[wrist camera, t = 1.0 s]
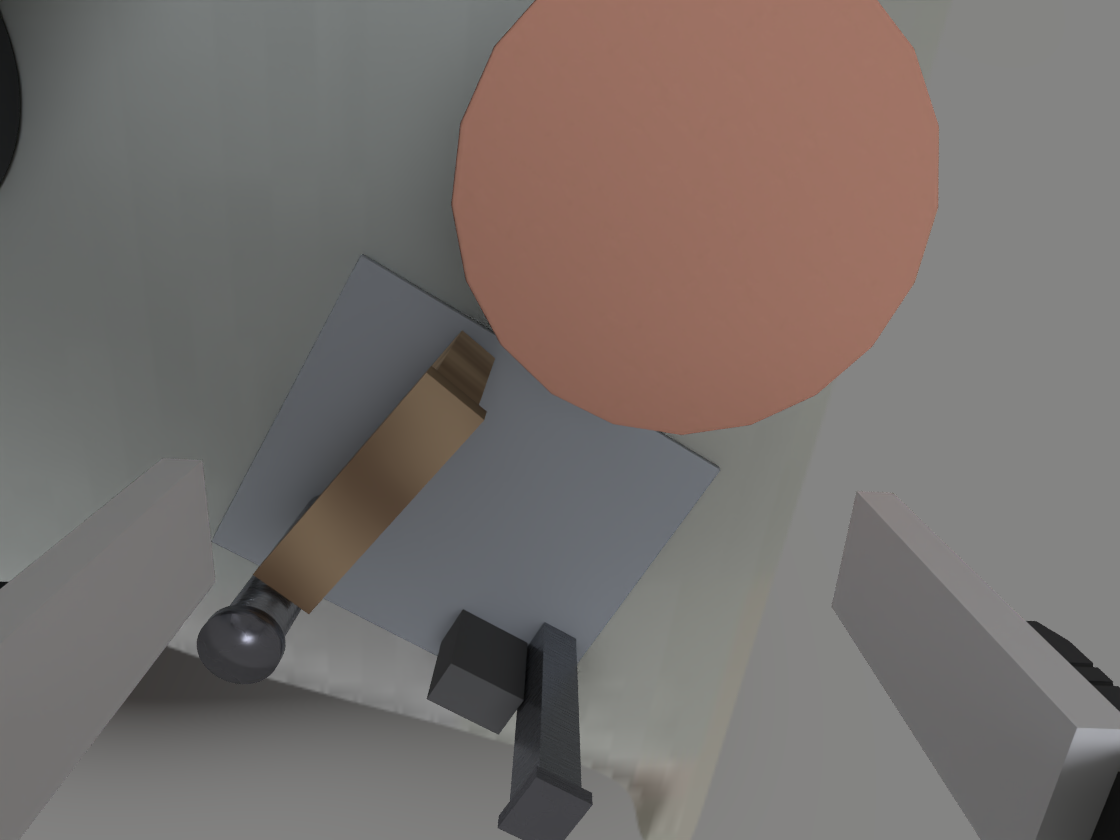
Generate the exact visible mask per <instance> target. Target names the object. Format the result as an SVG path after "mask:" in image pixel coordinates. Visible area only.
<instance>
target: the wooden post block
mask: <svg viewBox="0 0 1120 840" xmlns="http://www.w3.org/2000/svg"><path fill="white" fill-rule="evenodd" d="M494 360H495V358H494V357H493V356H492V355H491V354H490V353H488V352H487V351H486V350H485V349H484V348H482V347H481V346H480V345H479V344H478V343H477V342H475V341H474V340H473V339H472V338H471V337H469V336H468V335H467V334H466V333H465V332H464V331H461V332H460V333H459V334H458V336H457V337H456V338H455V339H454V340H453V341H452V343H451V344H450V345H449V346H448V347H447V348H446V350H445V351H444V352H443V353H442V354H441V355H440V357H439V358H438V359H437V360H436V361H435V362H434V364H433V365H432V366H431V367H430V368H429V369H428V370H427V371H426V372H425V374H424V375H423V376H422V377H421V378H420V379H419V381H418V382H417V383H416V384H415V385H414V386H413V388H412V389H411V390H410V391H409V392H408V393H407V395H406V396H405V397H404V398H403V399H402V400H401V401H400V403H399V404H398V405H397V406H396V407H395V408H394V410H393V411H392V412H391V413H390V414H389V415H388V417H387V418H386V419H385V420H384V421H383V422H382V424H381V425H380V426H379V427H378V428H377V429H376V431H375V432H374V433H373V434H372V435H371V436H370V438H369V439H368V440H367V441H366V442H365V443H364V445H363V446H362V447H361V448H360V449H359V450H358V452H357V453H356V454H355V455H354V456H353V457H352V458H351V460H350V461H349V462H348V463H347V464H346V465H345V467H344V468H343V469H342V470H341V471H340V472H339V474H338V475H337V476H336V477H335V478H334V479H333V481H332V482H331V483H330V484H329V485H328V486H327V488H326V489H325V490H324V491H323V492H322V493H321V495H320V496H319V497H318V498H317V499H316V500H315V502H314V503H313V504H312V505H311V506H310V507H309V508H308V510H307V511H306V512H305V513H304V514H303V515H302V517H301V518H300V519H299V520H298V521H297V522H296V524H295V525H294V526H293V527H292V528H291V529H290V531H289V532H288V533H287V534H286V535H285V536H284V538H283V539H282V540H281V541H280V542H279V543H278V545H277V546H276V547H275V548H274V549H273V550H272V552H271V553H270V554H269V555H268V556H267V557H266V559H265V560H264V561H263V562H262V563H261V565H260V566H259V567H258V569H257V570H256V571H255V573H254V574H253V575H254V576H255V577H257V578H258V579H260V580H261V581H263V582H264V583H265V584H267V585H268V586H270V587H271V588H272V589H274V590H275V591H277V592H278V593H280V594H281V595H282V596H284V597H285V598H287V599H288V600H289V601H291V602H292V603H294V604H295V605H297V606H298V607H299V608H301V609H302V610H304V611H305V612H307V613H308V614H309V613H310V612H311V611H312V610H313V609H314V608H315V607H316V606H317V605H318V603H319V602H320V601H321V600H322V599H323V598H324V597H325V596H326V595H327V593H328V592H329V591H330V590H331V589H332V588H333V587H334V586H335V585H336V584H337V582H338V581H339V580H340V579H341V578H342V577H343V576H344V575H345V574H346V572H347V571H348V570H349V569H350V568H351V567H352V566H353V565H354V564H355V563H356V561H357V560H358V559H359V558H360V557H361V556H362V555H363V554H364V553H365V551H366V550H367V549H368V548H369V547H370V546H371V545H372V544H373V543H374V542H375V540H376V539H377V538H378V537H379V536H380V535H381V534H382V533H383V532H384V530H385V529H386V528H387V527H388V526H389V525H390V524H391V523H392V522H393V521H394V519H395V518H396V517H397V516H398V515H399V514H400V513H401V512H402V511H403V509H404V508H405V507H406V506H407V505H408V504H409V503H410V502H411V501H412V500H413V498H414V497H415V496H416V495H417V494H418V493H419V492H420V491H421V490H422V488H423V487H424V486H425V485H426V484H427V483H428V482H429V481H430V480H431V479H432V477H433V476H434V475H435V474H436V473H437V472H438V471H439V470H440V469H441V467H442V466H443V465H444V464H445V463H446V462H447V461H448V460H449V459H450V458H451V456H452V455H453V454H454V453H455V452H456V451H457V450H458V449H459V448H460V446H461V445H462V444H463V443H464V442H465V441H466V440H467V439H468V438H469V437H470V435H471V434H472V433H473V432H474V431H475V430H476V429H477V428H478V427H479V425H480V424H481V423H482V422H483V421H484V420H485V416H486V413H487V411H486V410H485V409H483V408H482V407H481V406H480V405H479V403H480V401H481V398H482V395H483V392H484V389H485V386H486V383H487V380H488V378H489V375H490V372H491V369H492V366H493V363H494Z"/></svg>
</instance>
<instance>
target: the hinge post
mask: <svg viewBox="0 0 1120 840" xmlns="http://www.w3.org/2000/svg"><path fill="white" fill-rule="evenodd" d="M319 496H320V495H318V496H315V497H314V498H312V499H311V500H310V501H309V502H308V504H307V505H306V506H305V508H304V509H303V510H302V512H301V513H300V514H299V515H298V517H297V518H296V519H295V521H294V522H293V523H292V525H291V526H290V527H289V529H288V530H287V531H286V533H285V534H284V535H283V536H282V538H281V539H280V540H279V542H280V541H281V540H282V539H283V538H284V536H285V535H286V534H287V533H288V532H289V531H290V529H291V528H292V527H293V526H294V525H295V524H296V522H297V521H298V520H299V519H300V518H301V517H302V515H303V514H304V513H305V512H306V511H307V510H308V508H309V507H310V506H311V505H312V504H313V503H314V502H315V500H316V499H317V498H318V497H319ZM279 542H278V543H279ZM278 543H277V544H276V546H277V545H278ZM276 546H275V547H276ZM275 547H274V548H275ZM274 548H273V549H274ZM271 552H272V551H271ZM271 552H270V553H271ZM300 610H301V608H299V607H298V606H297V605H295V604H294V603H292V602H291V601H289V600H288V599H287V598H285V597H284V596H282V595H281V594H280V593H278V592H277V591H275V590H274V589H272V588H271V587H270V586H268V585H267V584H265V583H264V582H263V581H261V580H260V579H258V578H257V577H255V576H254V575H253V576H252V577H251V579H250V580H249V581H248V582H247V584H246V585H245V586H244V588H243V589H242V590H241V592H240V593H239V594H238V596H237V597H236V598H235V600H234V601H233V602H232V603H231V605H230V606H228V607H225V608H223V609H220V610H219V611H217V612H216V613H214V614H213V615H212V616H211V617H210V619H209V620H208V621H207V622H206V624H205V625H204V626H203V628H202V629H201V631H200V633H199V635H198V639H197V650H198V654H199V657H200V659H201V661H202V662H203V664H204V665H205V666H206V668H207V669H208V670H209V671H210V672H212V673H213V674H214V675H216V676H217V677H219V678H221V679H223V680H226V681H228V682H232V683H237V684H251V683H255V682H259V681H261V680H263V679H265V678H267V677H268V676H269V675H271V673H272V672H273V671H274V670H275V668H276V667H277V665H278V663H279V662H280V660H281V658H282V656H283V654H284V651H285V635H286V634H287V632H288V630H289V629H290V627H291V625H292V624H293V622H294V620H295V619H296V617H297V615H298V614H299V612H300Z"/></svg>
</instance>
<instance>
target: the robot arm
mask: <svg viewBox="0 0 1120 840" xmlns="http://www.w3.org/2000/svg"><path fill="white" fill-rule="evenodd" d="M19 112H20V101H19V84H18V77H17V70H16V65H15V60H14V55H13V51H12V48H11V44H10V41H9V37H8V35H7V32H6V29H5V26H4V23H3V21H2V18H1V16H0V182H1V180H2V179H3V177H4V175H5V173H6V170H7V168H8V166H9V163H10V161H11V157H12V154H13V151H14V147H15V143H16V138H17V132H18V125H19ZM214 583H215V572H214V563H213V553H212V544H211V535H210V526H209V516H208V507H207V498H206V488H205V479H204V470H203V461H202V460H194V459H174V458H162V459H161V460H160V461H158V462H157V463H156V464H155V465H153V466H152V467H151V468H150V469H148V470H147V471H146V472H145V473H143V474H142V475H141V476H140V477H138V478H137V479H136V480H135V481H134V482H132V483H131V484H130V485H129V486H127V487H126V488H125V489H124V490H122V491H121V492H120V493H119V494H117V495H116V496H115V497H114V498H112V499H111V500H110V501H109V502H107V503H106V504H105V505H104V506H103V507H101V508H100V509H99V510H98V511H96V512H95V513H94V514H93V515H91V516H90V517H89V518H88V519H86V520H85V521H84V522H83V523H81V524H80V525H79V526H78V527H76V528H75V529H74V530H73V531H72V532H70V533H69V534H68V535H67V536H65V537H64V538H63V539H62V540H60V541H59V542H58V543H57V544H55V545H54V546H53V547H52V548H50V549H49V550H48V551H47V552H45V553H44V554H43V555H42V556H41V557H39V558H38V559H37V560H36V561H34V562H33V563H32V564H31V565H29V566H28V567H27V568H26V569H24V570H23V571H22V572H21V573H19V574H18V575H17V576H16V577H15V578H13V579H12V580H11V581H10V582H0V840H19V839H20V838H21V836H22V835H23V834H24V833H25V831H26V830H27V829H28V828H29V826H30V825H31V824H32V822H33V821H34V820H35V818H36V817H37V816H38V814H39V813H40V811H41V810H42V809H43V808H44V806H45V805H46V804H47V803H48V801H49V800H50V798H51V797H52V796H53V795H54V793H55V792H56V790H57V789H58V788H59V787H60V785H61V784H62V783H63V781H64V780H65V779H66V777H67V776H68V775H69V774H70V772H71V771H72V770H73V768H74V767H75V766H76V764H77V763H78V762H79V760H80V759H81V757H82V756H83V755H84V754H85V752H86V751H87V750H88V748H89V747H90V746H91V745H92V743H93V742H94V741H95V739H96V738H97V737H98V735H99V734H100V733H101V731H102V730H103V729H104V727H105V726H106V725H107V723H108V722H109V721H110V720H111V718H112V717H113V716H114V714H115V713H116V712H117V710H118V709H119V708H120V706H121V705H122V704H123V702H124V701H125V700H126V699H127V697H128V696H129V694H130V693H131V692H132V691H133V689H134V688H135V687H136V685H137V684H138V682H139V681H140V680H141V679H142V677H143V676H144V675H145V673H146V672H147V671H148V670H149V668H150V667H151V666H152V664H153V663H154V662H155V660H156V659H157V658H158V656H159V655H160V654H161V652H162V651H163V650H164V648H165V647H166V646H167V645H168V643H169V642H170V641H171V639H172V638H173V637H174V635H175V634H176V633H177V631H178V630H179V629H180V627H181V626H182V625H183V623H184V622H185V621H186V620H187V618H188V617H189V616H190V614H191V613H192V612H193V610H194V609H195V608H196V606H197V605H198V604H199V602H200V601H201V600H202V598H203V597H204V596H205V595H206V593H207V592H208V591H209V589H210V588H211V587H212V585H213V584H214ZM832 608H833V610H834V611H835V613H836V614H837V615H838V617H839V619H840V620H841V622H842V624H843V625H844V627H845V628H846V630H847V631H848V633H849V635H850V636H851V638H852V639H853V641H854V642H855V644H856V645H857V647H858V649H859V650H860V652H861V653H862V655H863V656H864V658H865V660H866V661H867V663H868V664H869V666H870V667H871V669H872V670H873V672H874V674H875V675H876V677H877V678H878V680H879V681H880V683H881V684H882V686H883V687H884V689H885V691H886V692H887V694H888V695H889V697H890V699H891V700H892V702H893V703H894V705H895V706H896V708H897V710H898V711H899V713H900V714H901V716H902V717H903V719H904V721H905V722H906V724H907V725H908V727H909V728H910V730H911V731H912V733H913V735H914V736H915V738H916V739H917V741H918V742H919V744H920V745H921V747H922V749H923V750H924V752H925V753H926V755H927V757H928V758H929V760H930V761H931V762H932V764H933V766H934V767H935V769H936V770H937V772H938V774H939V775H940V777H941V778H942V780H943V782H944V783H945V785H946V786H947V788H948V789H949V791H950V792H951V794H952V795H953V797H954V799H955V800H956V802H957V803H958V805H959V807H960V808H961V809H962V811H963V813H964V814H965V816H966V817H967V819H968V821H969V822H970V824H971V825H972V827H973V828H974V830H975V831H976V833H977V835H978V836H979V838H980V839H981V840H1120V688H1119V687H1118V686H1113V681H1112V680H1110V678H1108V677H1107V676H1106V675H1105V674H1104V673H1103V672H1102V671H1101V670H1100V669H1099V668H1095V667H1093V663H1092V662H1091V661H1090V660H1089V659H1088V658H1087V657H1086V656H1084V654H1083V653H1081V652H1080V651H1079V650H1078V649H1077V648H1076V647H1075V646H1074V645H1073V644H1072V643H1070V642H1069V641H1068V640H1066V639H1065V638H1063V637H1062V636H1060V635H1058V634H1057V633H1055V632H1053V631H1051V630H1050V629H1048V628H1047V627H1045V626H1043V625H1042V624H1040V623H1038V622H1036V621H1025V620H1024V619H1023V618H1022V617H1021V616H1020V615H1019V614H1018V613H1017V612H1016V611H1015V610H1014V609H1013V608H1012V607H1011V606H1010V605H1009V604H1008V603H1007V602H1006V601H1005V600H1003V599H1002V598H1001V597H1000V596H999V595H998V594H997V593H996V592H995V591H994V590H993V589H992V588H991V587H990V586H989V585H988V584H987V583H986V582H985V581H984V580H983V579H982V578H981V577H980V576H979V575H977V574H976V573H975V572H974V571H973V570H972V569H971V568H970V567H969V566H968V565H967V564H966V563H965V562H964V561H963V560H962V559H961V558H960V557H959V556H958V555H957V554H956V553H955V552H954V551H953V550H952V549H951V548H950V547H949V546H948V545H947V544H946V543H945V542H944V541H942V540H941V539H940V538H939V537H938V536H937V535H936V534H935V533H934V532H933V531H932V530H931V529H930V528H929V527H928V526H927V525H926V524H925V523H924V522H923V521H922V520H921V519H920V518H919V517H918V516H917V515H915V514H914V512H912V511H911V510H910V509H909V508H908V507H907V506H906V505H905V504H904V503H903V502H902V501H901V500H900V499H899V498H898V497H897V496H896V495H895V494H894V493H883V492H863V491H862V492H861V491H857V492H856V497H855V501H854V506H853V510H852V515H851V520H850V524H849V529H848V533H847V538H846V543H845V547H844V552H843V557H842V561H841V565H840V570H839V575H838V579H837V584H836V589H835V593H834V598H833V602H832Z"/></svg>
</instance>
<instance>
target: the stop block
mask: <svg viewBox="0 0 1120 840" xmlns="http://www.w3.org/2000/svg"><path fill="white" fill-rule="evenodd" d="M527 644H528V643H527V642H525V641H523V640H521V639H519V638H517V637H516V636H514V635H512V634H510V633H508V632H506V631H504V630H502V629H500V628H498V627H496V626H494V625H493V624H491V623H489V622H487V621H485V620H483V619H481V618H479V617H477V616H475V615H473V614H472V613H470V612H468V611H466V610H464V609H463V610H462V611H461V613H460V614H459V616H458V617H457V619H456V620H455V622H454V623H453V625H452V626H451V628H450V629H449V631H448V632H447V634H446V636H445V637H444V639H443V640H442V642H441V645H440V649H439V653H438V657H437V661H436V665H435V669H434V673H433V677H432V681H431V685H430V689H429V693H428V696H427V699H428V700H430V701H432V702H434V703H436V704H438V705H440V706H442V707H444V708H446V709H448V710H450V711H452V712H454V713H456V714H458V715H460V716H462V717H464V718H466V719H468V720H470V721H472V722H474V723H476V724H478V725H480V726H482V727H484V728H486V729H488V730H490V731H492V732H494V733H496V734H498V735H499V733H500V732H501V731H502V729H503V728H504V726H505V725H506V724H507V722H508V721H509V720H510V718H511V717H512V715H513V714H514V713H515V711H516V710H517V709H518V707H519V706H520V704H521V703H522V702H523V700H524V687H525V673H526V658H527Z"/></svg>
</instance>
